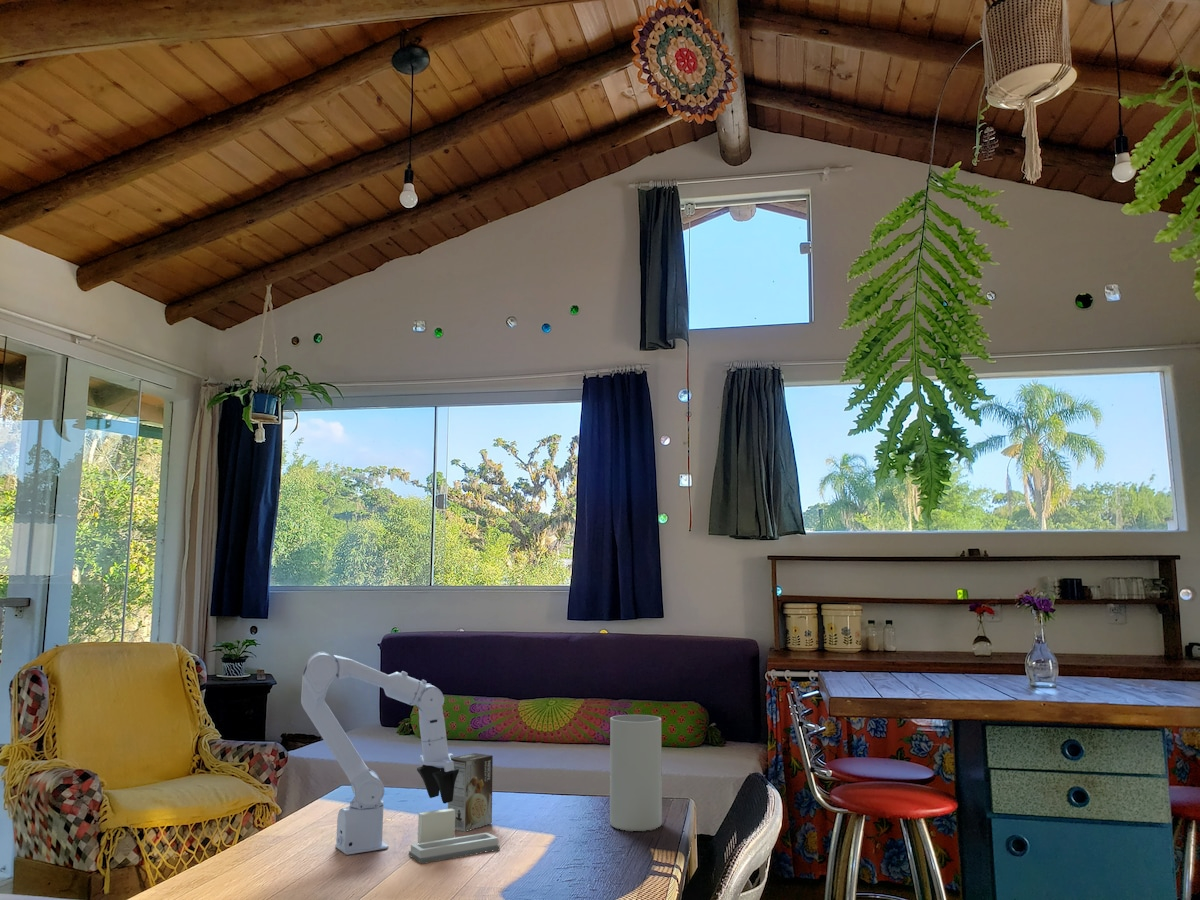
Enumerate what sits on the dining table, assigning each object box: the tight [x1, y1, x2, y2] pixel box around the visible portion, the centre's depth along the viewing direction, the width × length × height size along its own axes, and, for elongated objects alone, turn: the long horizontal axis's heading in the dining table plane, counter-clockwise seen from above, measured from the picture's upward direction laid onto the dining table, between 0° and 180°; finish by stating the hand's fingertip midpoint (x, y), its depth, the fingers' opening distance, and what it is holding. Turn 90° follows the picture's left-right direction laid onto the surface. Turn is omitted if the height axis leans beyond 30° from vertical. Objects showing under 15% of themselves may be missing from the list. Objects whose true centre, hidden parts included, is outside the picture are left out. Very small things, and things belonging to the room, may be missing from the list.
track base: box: [408, 832, 500, 864], centre depth 192 cm, size 18×7×2 cm, turn 124°
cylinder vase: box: [609, 714, 663, 832], centre depth 217 cm, size 12×12×25 cm
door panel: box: [417, 808, 456, 844], centre depth 201 cm, size 8×2×6 cm, turn 124°
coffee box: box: [447, 752, 494, 832], centre depth 215 cm, size 9×6×16 cm
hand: (441, 799), depth 202 cm, fingers open, 7 cm apart
